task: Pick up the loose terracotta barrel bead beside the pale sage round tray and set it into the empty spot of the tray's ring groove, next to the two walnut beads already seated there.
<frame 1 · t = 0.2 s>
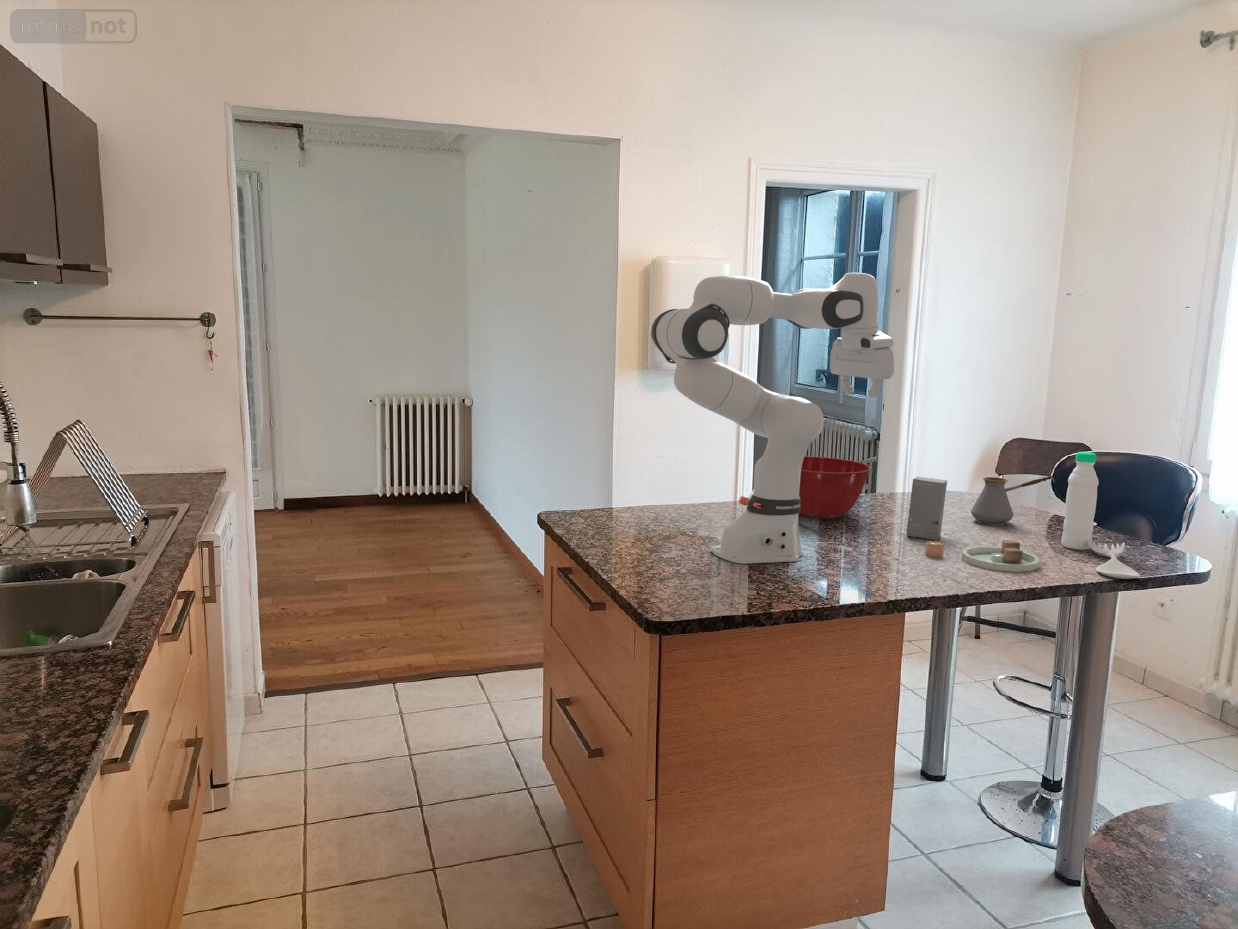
hand: (860, 394, 227), 39 cm above the countertop, tool pointing down, fingers open, 8 cm apart
seated bead a: (1011, 566, 212), point 1 cm above the countertop, touching groove tray
milk bottle: (1075, 548, 236), on the countertop, touching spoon
groove tray: (999, 565, 217), on the countertop
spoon: (1111, 568, 217), on the countertop, touching milk bottle
skincare box: (924, 537, 244), on the countertop
seated bead b: (1009, 558, 219), point 1 cm above the countertop, touching groove tray
mixing bowl: (818, 515, 268), on the countertop
coffee pot: (1009, 524, 262), on the countertop
loose bead: (933, 559, 221), on the countertop
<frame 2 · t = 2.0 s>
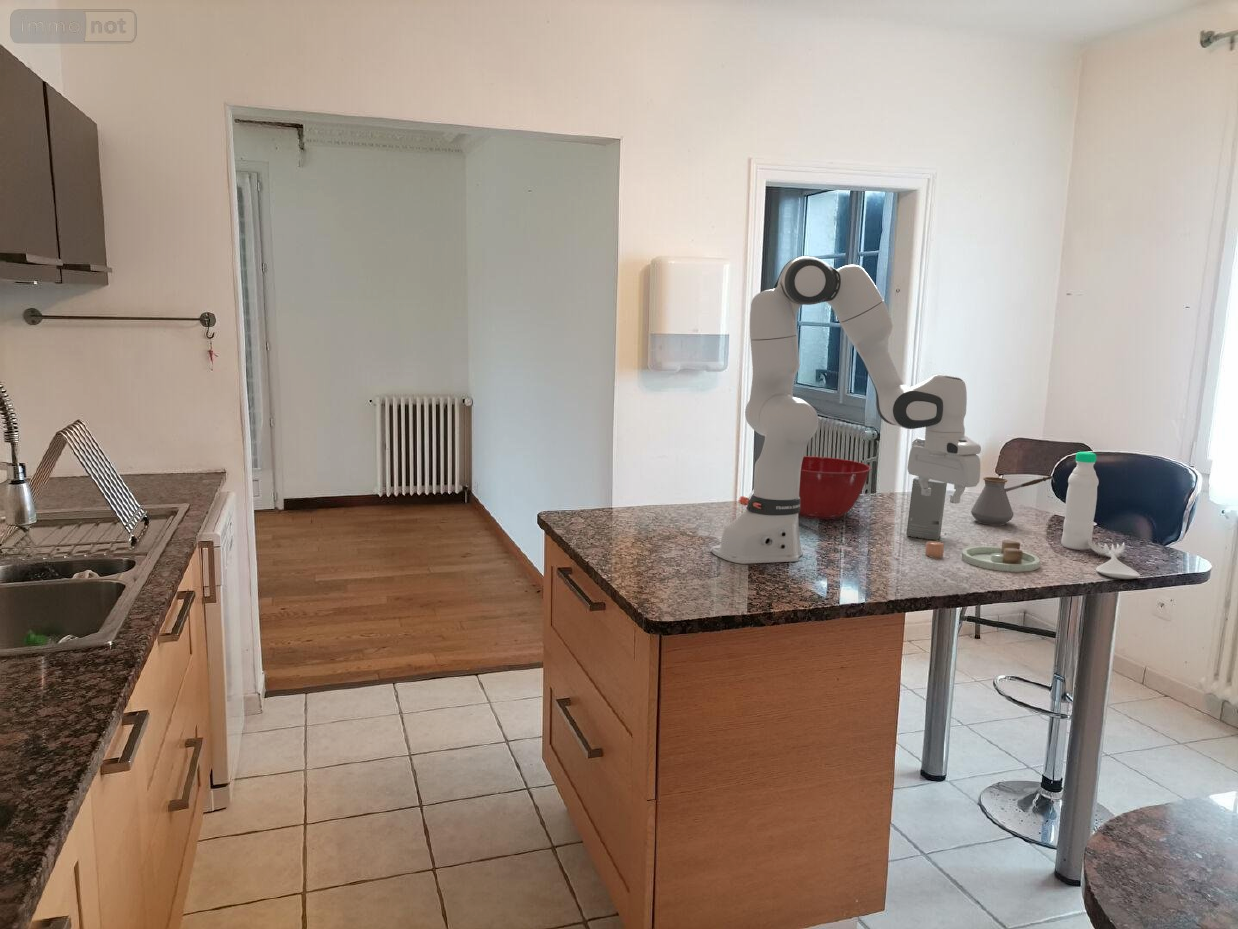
hand: (940, 499, 218), 15 cm above the countertop, tool pointing down, fingers open, 8 cm apart
nothing on the countertop moved.
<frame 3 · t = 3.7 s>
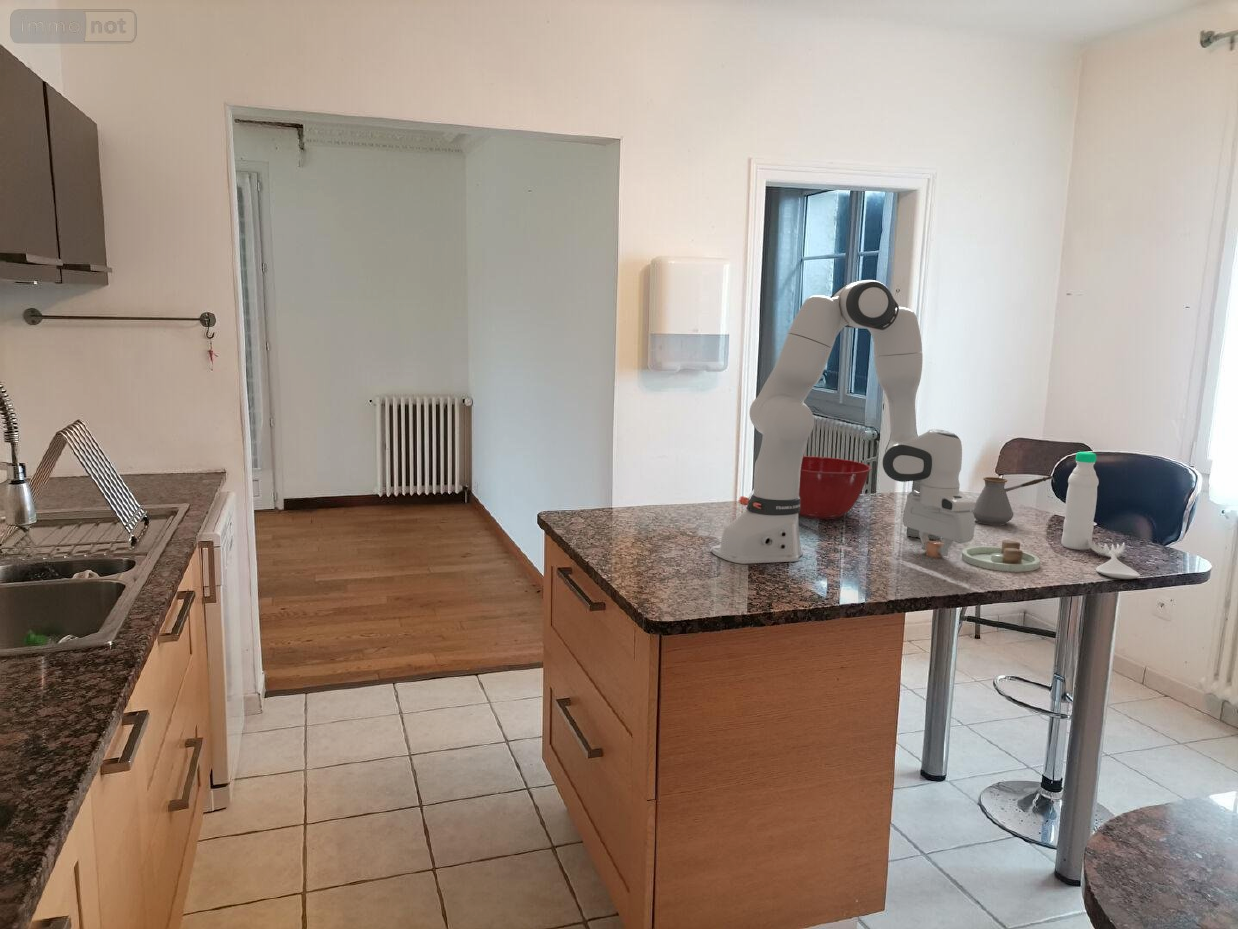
hand: (934, 552, 221), 2 cm above the countertop, tool pointing down, fingers closed on loose bead, 4 cm apart
loose bead: (933, 559, 221), on the countertop, touching gripper
everything else where it was.
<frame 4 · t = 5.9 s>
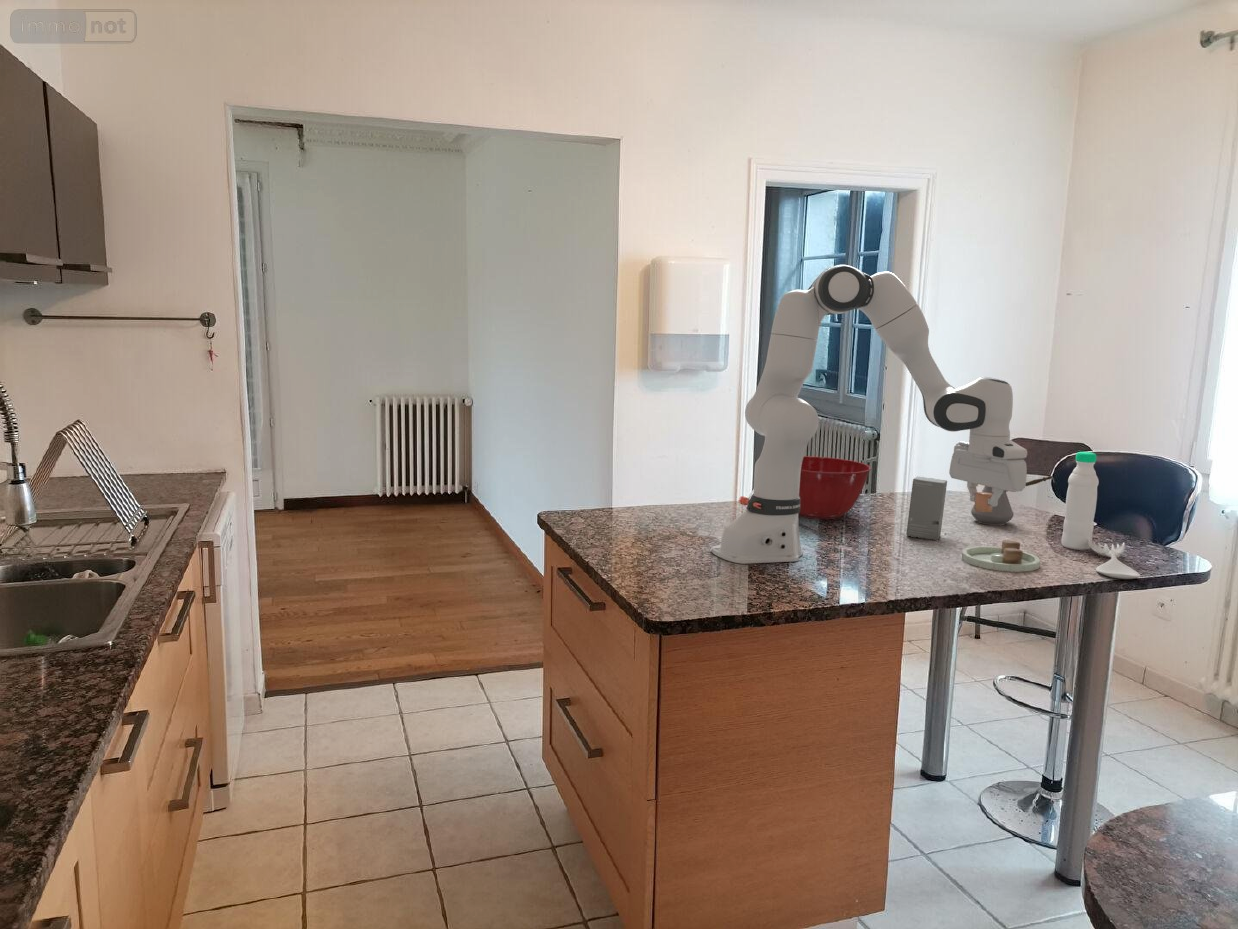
hand: (983, 503, 216), 15 cm above the countertop, tool pointing down, fingers closed on loose bead, 4 cm apart
loose bead: (983, 510, 216), point 13 cm above the countertop, touching gripper
everything else where it was.
when the fingers open (4 cm above the countertop, at t = 8.0 s): loose bead drops 2 cm, resting on groove tray.
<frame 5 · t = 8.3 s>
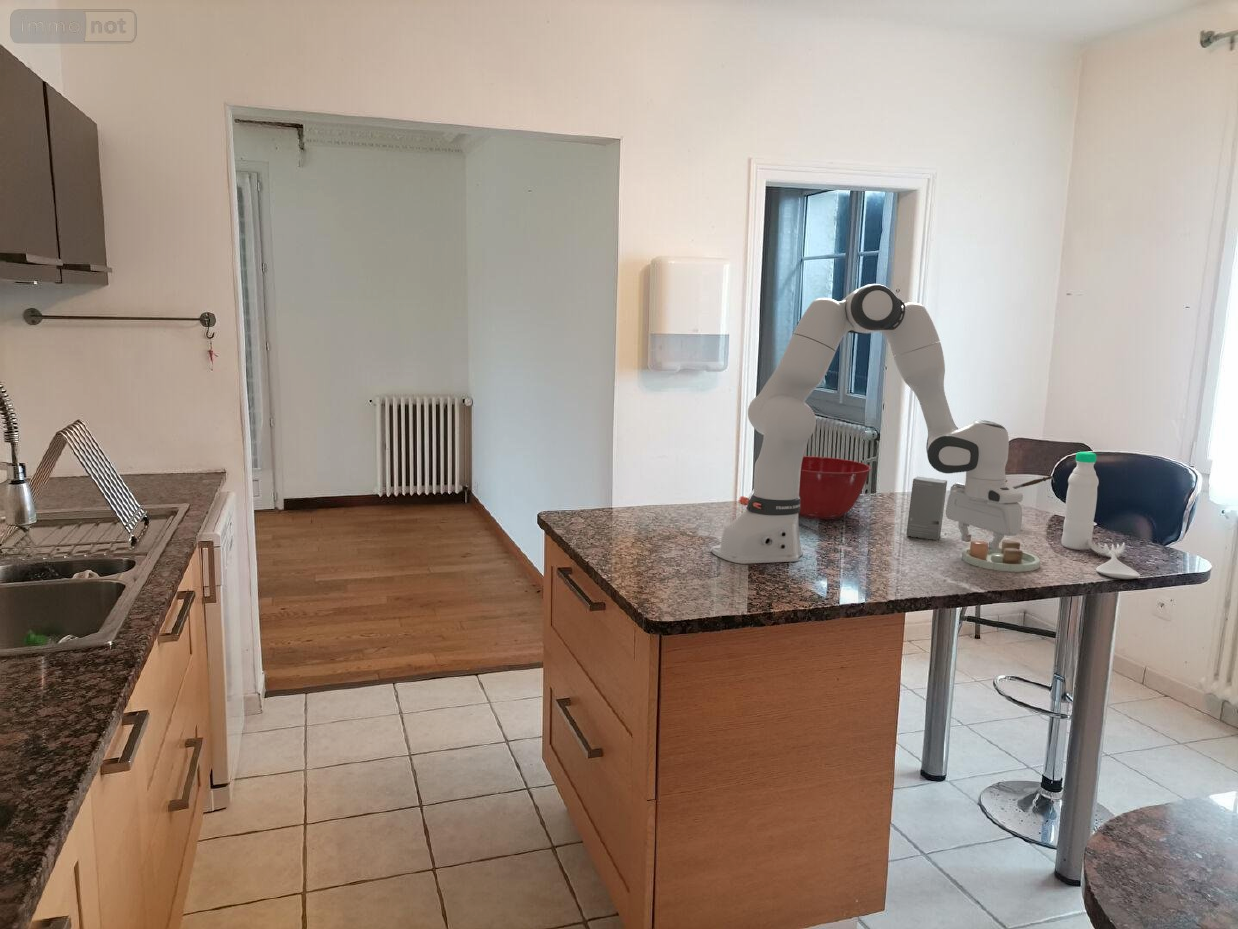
hand: (979, 545, 218), 4 cm above the countertop, tool pointing down, fingers open, 7 cm apart
loose bead: (978, 559, 218), point 1 cm above the countertop, touching groove tray
everything else where it was.
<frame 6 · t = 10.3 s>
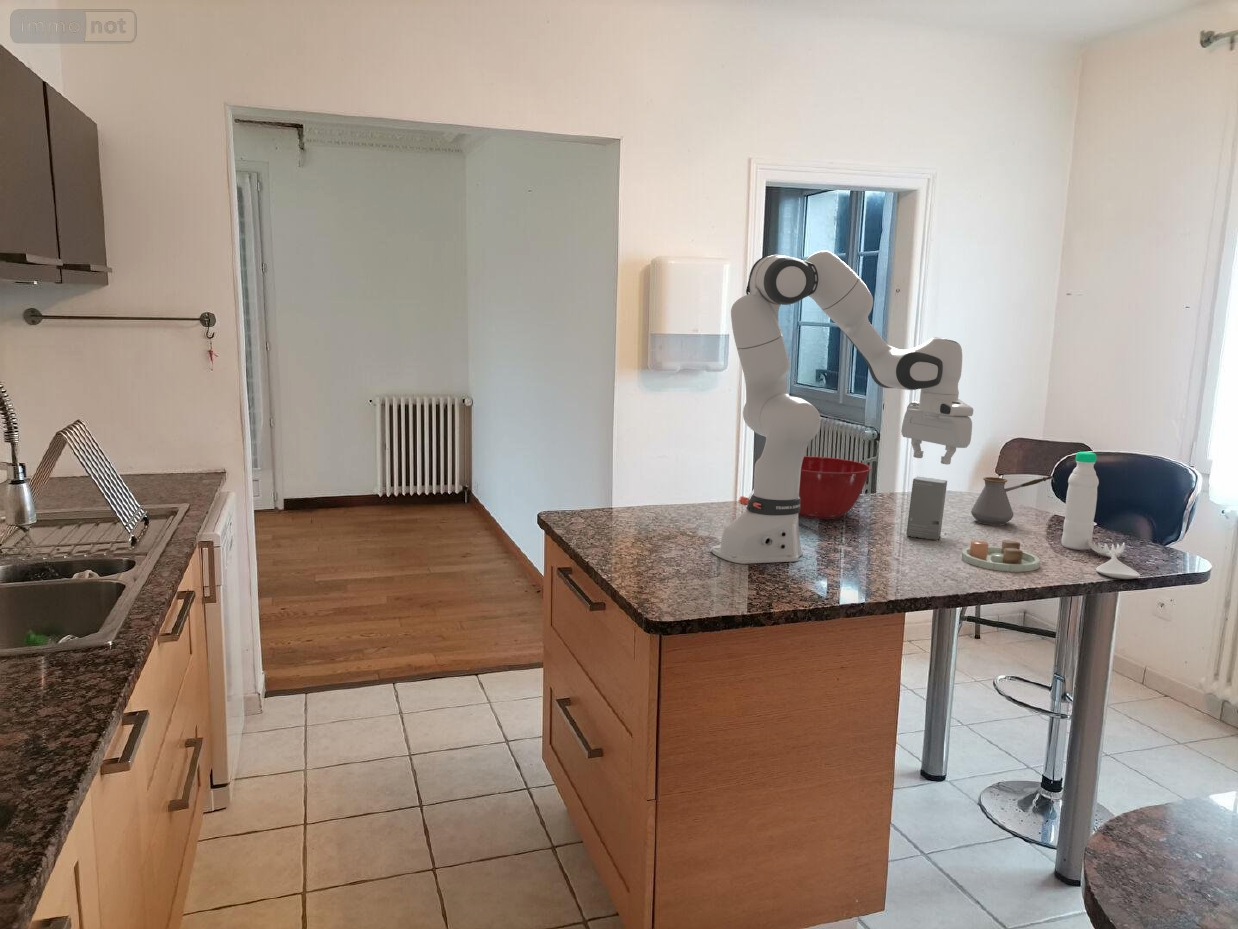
hand: (931, 460, 223), 23 cm above the countertop, tool pointing down, fingers open, 8 cm apart
nothing on the countertop moved.
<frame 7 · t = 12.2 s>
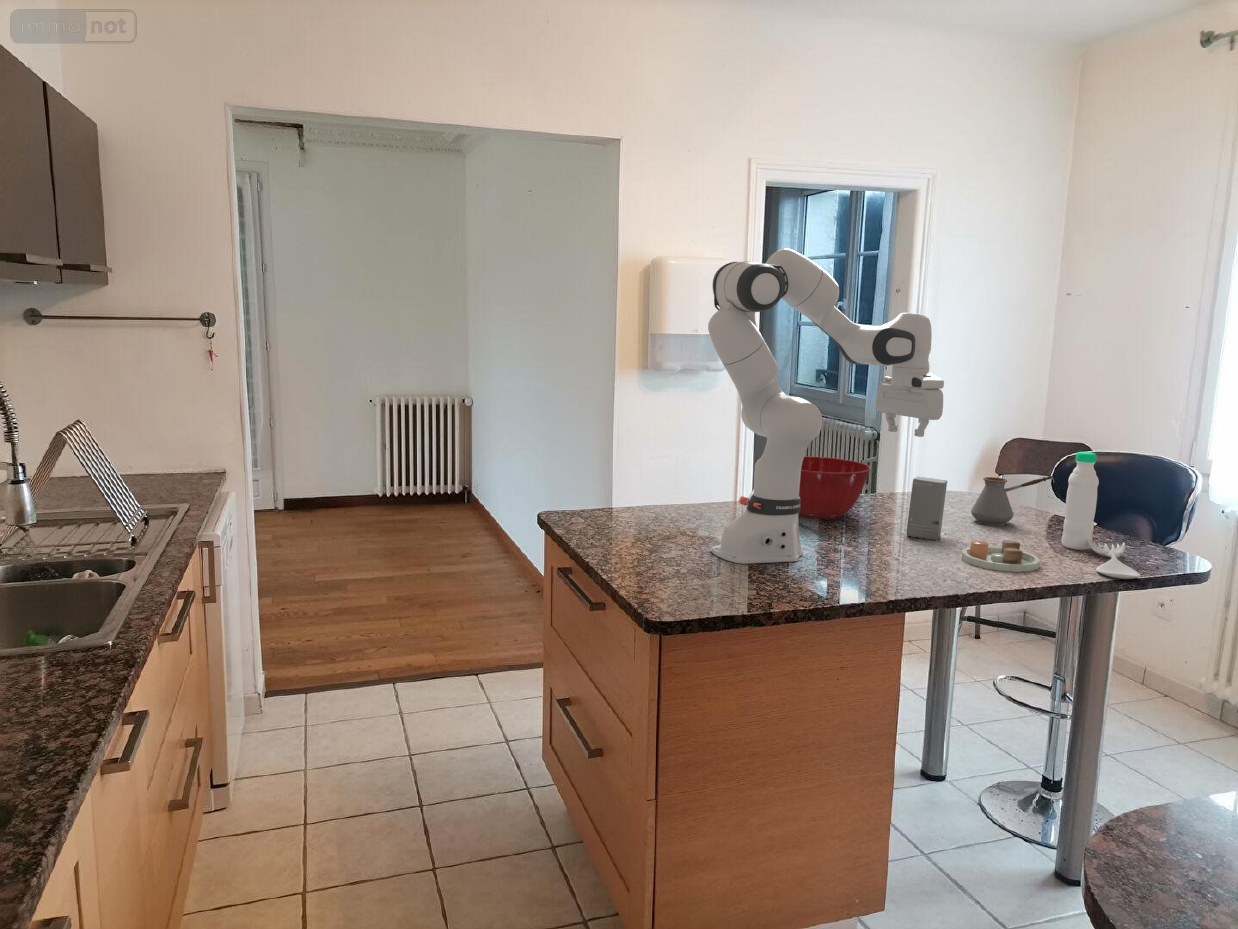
hand: (905, 434, 228), 29 cm above the countertop, tool pointing down, fingers open, 8 cm apart
nothing on the countertop moved.
at the end: loose bead 0.1 cm from the target spot on the groove tray, point 1.0 cm above the groove tray's base; loose bead tilted 0°; loose bead touching groove tray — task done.
